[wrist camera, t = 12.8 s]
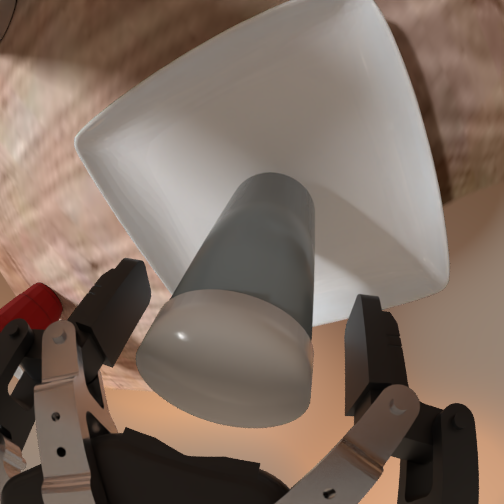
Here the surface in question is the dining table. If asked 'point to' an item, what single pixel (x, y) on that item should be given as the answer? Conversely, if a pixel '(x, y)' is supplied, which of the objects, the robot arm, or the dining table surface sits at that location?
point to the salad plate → (283, 150)
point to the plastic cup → (32, 310)
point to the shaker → (242, 313)
